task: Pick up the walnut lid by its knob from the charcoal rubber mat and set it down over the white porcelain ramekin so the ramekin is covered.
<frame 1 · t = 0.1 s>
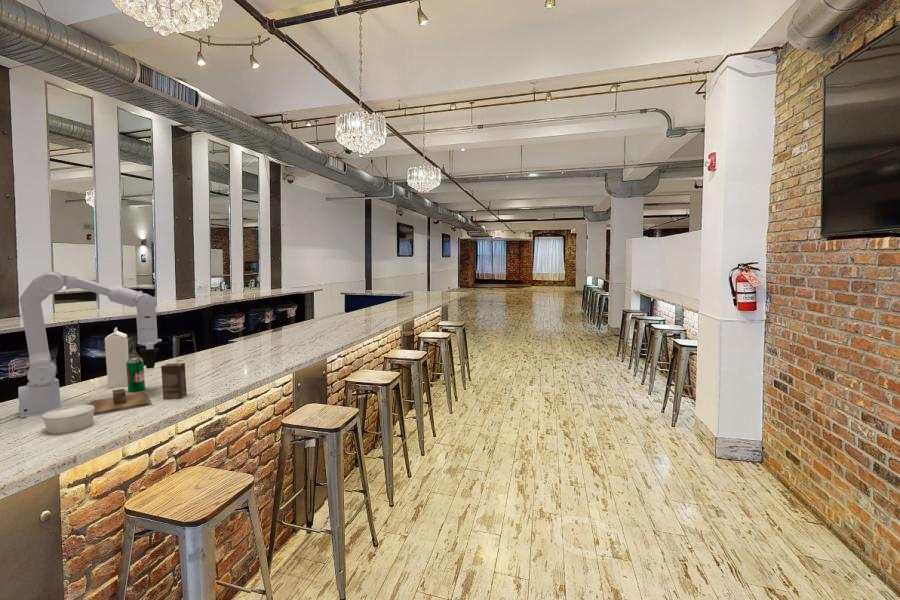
hand: (149, 366, 152), 10 cm above the counter, tool pointing down, fingers open, 7 cm apart
milk: (119, 385, 163), on the counter
soda can: (136, 391, 156), on the counter
ramekin: (70, 429, 122), on the counter
lid: (119, 404, 141), resting on mat
mat: (119, 405, 141), on the counter
box: (175, 398, 149), on the counter
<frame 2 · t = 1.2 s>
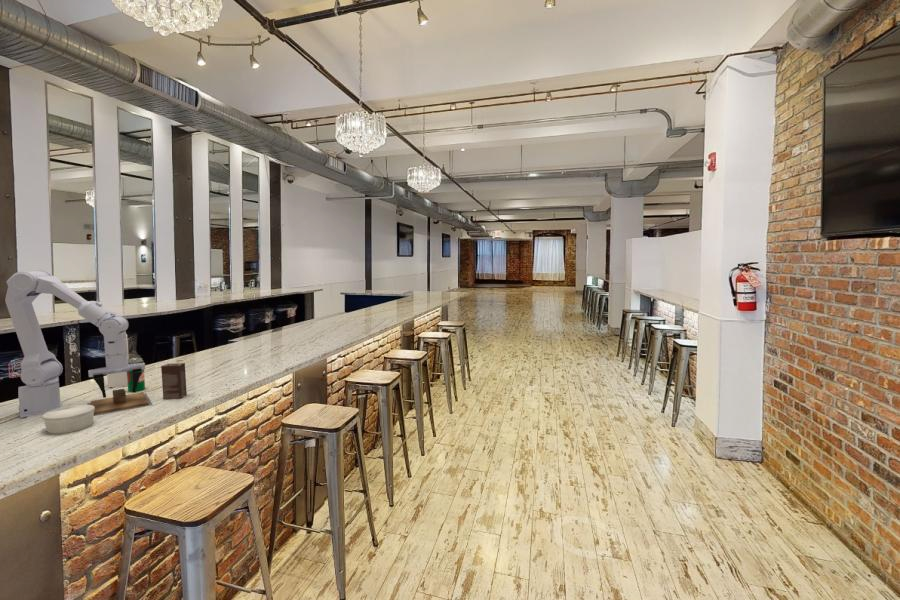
hand: (119, 394, 140), 4 cm above the counter, tool pointing down, fingers open, 7 cm apart
nothing on the counter moved.
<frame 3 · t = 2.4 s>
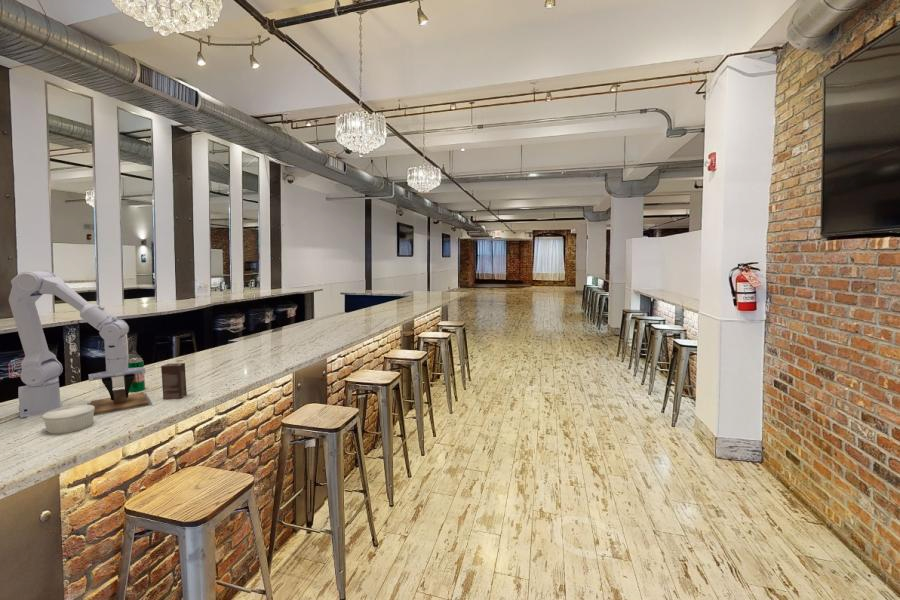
hand: (119, 398, 141), 2 cm above the counter, tool pointing down, fingers closed on lid, 3 cm apart
lid: (119, 404, 141), resting on mat, touching gripper
everything else where it was.
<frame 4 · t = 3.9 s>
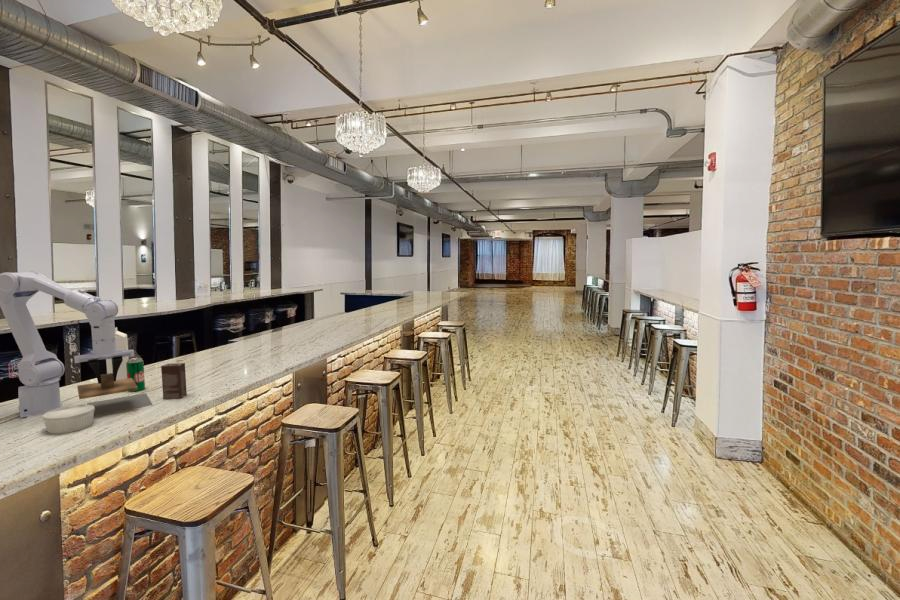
hand: (107, 381, 135), 9 cm above the counter, tool pointing down, fingers closed on lid, 3 cm apart
lid: (107, 388, 136), point 7 cm above the counter, touching gripper
everything else where it was.
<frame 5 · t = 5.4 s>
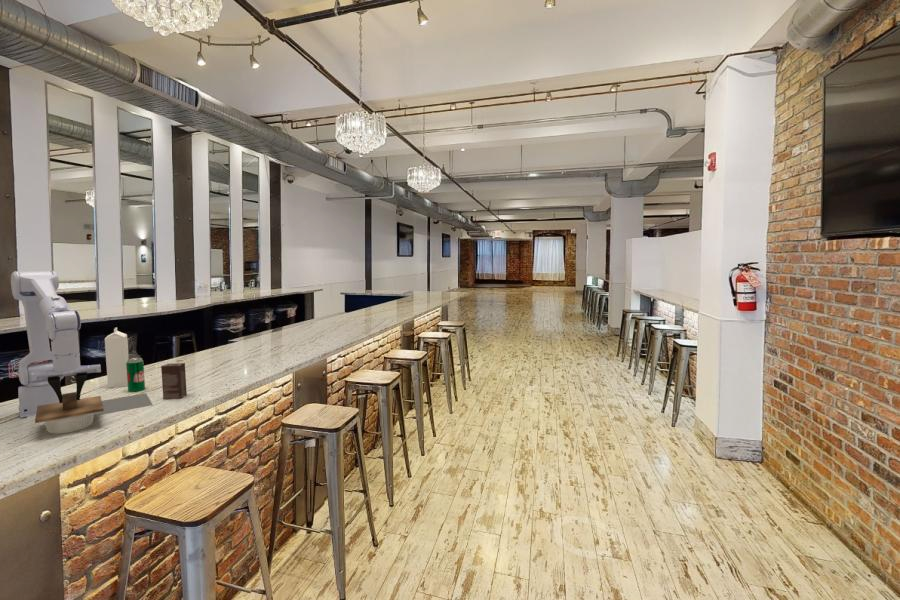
hand: (69, 400, 122), 8 cm above the counter, tool pointing down, fingers closed on lid, 3 cm apart
ramekin: (70, 429, 122), on the counter, touching lid
lid: (70, 409, 122), point 5 cm above the counter, touching gripper, ramekin
everything else where it was.
when the fingers open (8 cm above the counter, at t = 5.7 s): lid stays where it is, resting on ramekin.
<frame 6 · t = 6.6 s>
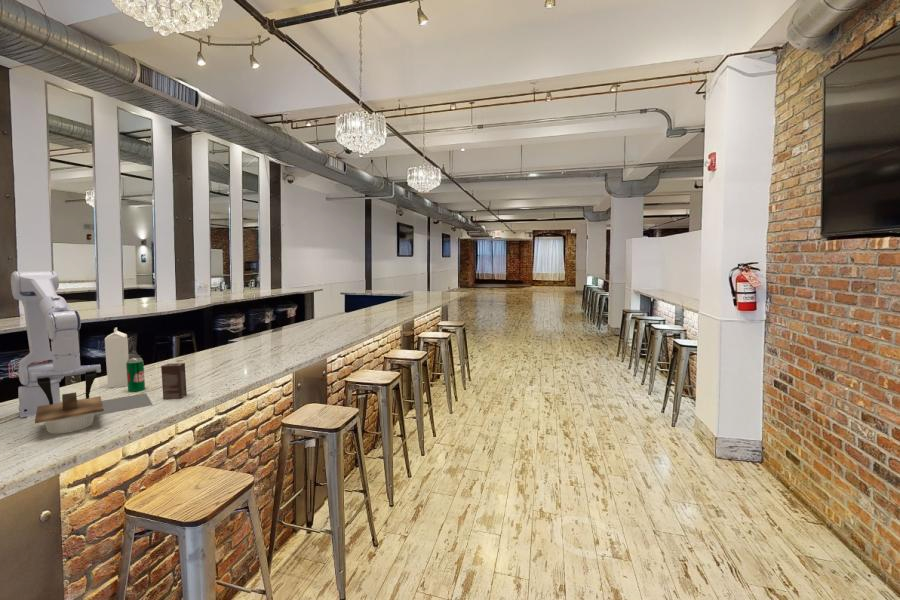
hand: (69, 400, 122), 8 cm above the counter, tool pointing down, fingers open, 7 cm apart
lid: (70, 410, 122), point 5 cm above the counter, touching ramekin
everything else where it was.
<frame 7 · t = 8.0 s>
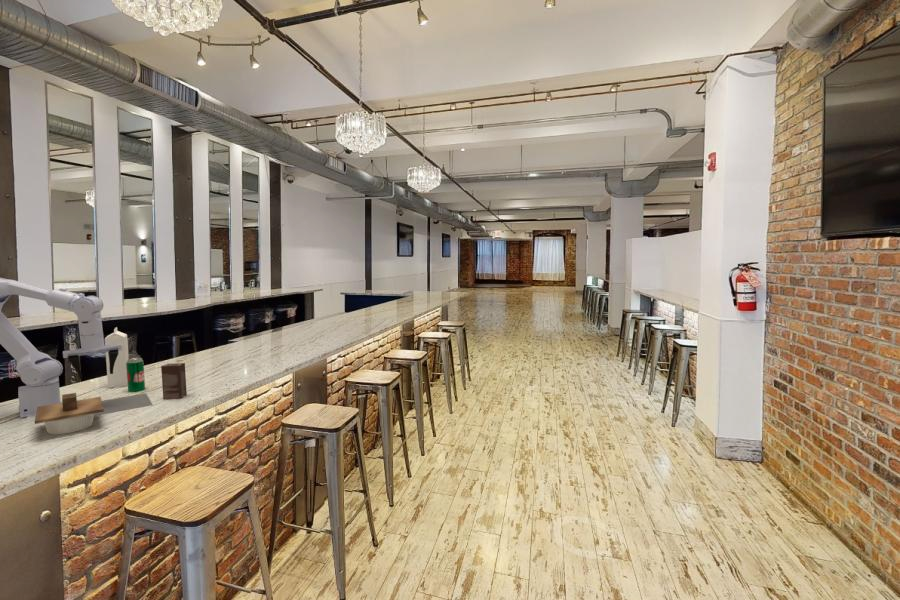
hand: (96, 375, 138), 10 cm above the counter, tool pointing down, fingers open, 7 cm apart
nothing on the counter moved.
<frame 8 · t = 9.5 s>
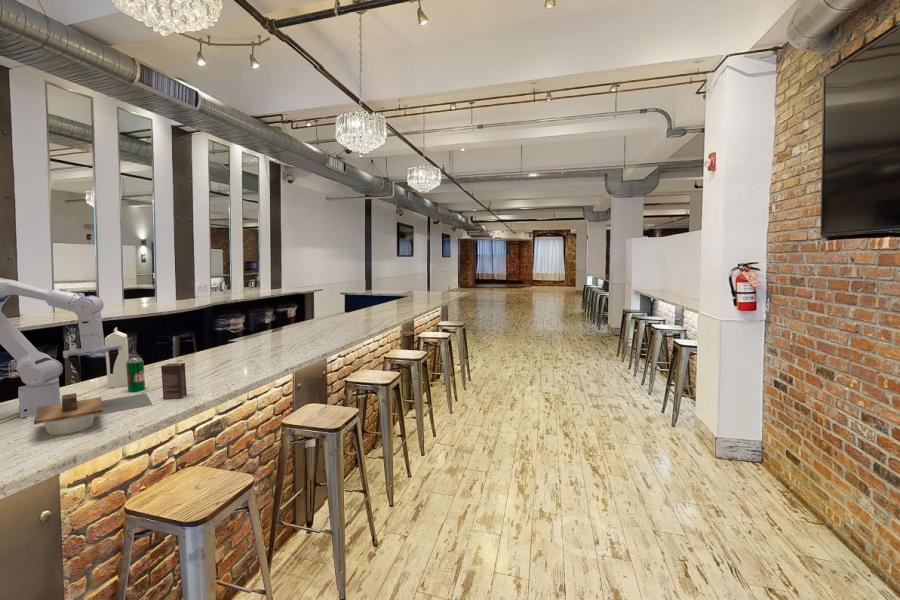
hand: (96, 375, 138), 10 cm above the counter, tool pointing down, fingers open, 7 cm apart
nothing on the counter moved.
at the end: lid 0.8 cm from the target spot, point 5.1 cm above the counter; lid touching ramekin; the gripper is holding nothing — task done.
